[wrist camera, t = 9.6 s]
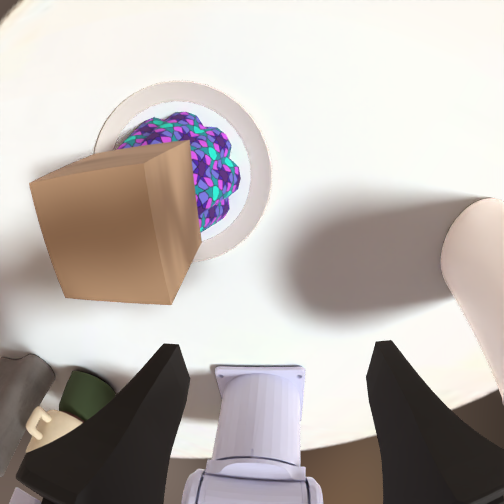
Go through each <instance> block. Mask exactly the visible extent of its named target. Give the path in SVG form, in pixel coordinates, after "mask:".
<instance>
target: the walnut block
mask: <svg viewBox="0 0 504 504" xmlns="http://www.w3.org/2000/svg"><path fill="white" fill-rule="evenodd" d="M29 185H30V189H31V194H32V198H33V202H34V206H35V210H36V213H37V217H38V221H39V224H40V228H41V231H42V234H43V237H44V241H45V244H46V247H47V250H48V253H49V256H50V259H51V262H52V264H53V267H54V270H55V273H56V275H57V278H58V281H59V283H60V286H61V288H62V291H63V293H64V296H65V298H73V299H84V300H96V301H110V302H125V303H141V304H160V305H172V303H173V300H174V298H175V296H176V294H177V292H178V290H179V288H180V286H181V284H182V281H183V279H184V277H185V275H186V273H187V271H188V269H189V267H190V265H191V263H192V261H193V259H194V257H195V255H196V253H197V251H198V249H199V247H200V245H201V243H202V241H201V233H200V226H199V218H198V210H197V202H196V194H195V185H194V176H193V167H192V158H191V148H190V140H183V141H174V142H166V143H158V144H151V145H143V146H137V147H130V148H124V149H118V150H112V151H107V152H101V153H96V154H93V155H91V156H88V157H86V158H83V159H81V160H79V161H76V162H74V163H71V164H69V165H67V166H65V167H62V168H60V169H58V170H56V171H54V172H51V173H49V174H47V175H45V176H43V177H41V178H39V179H37V180H35V181H33V182H31V183H29Z"/></svg>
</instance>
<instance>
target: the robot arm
mask: <svg viewBox="0 0 504 504" xmlns="http://www.w3.org/2000/svg"><path fill="white" fill-rule="evenodd" d="M215 375H216V379H217V383H218V387H219V391H220V394H221V398H222V405H221V410H220V416H219V421H218V427H217V432H216V438H215V443H214V449H213V454H212V460H208V461H207V466H206V470H205V469H197V470H196V471H195V472H194V473H192V474H191V475H190V476H189V477H188V479H187V482H186V485H185V488H184V492H183V497H182V502H181V504H323V496H322V491H321V487H320V486H319V484H318V483H317V482H316V481H315V480H314V479H313V478H312V477H305V467H300V421H301V417H302V407H303V396H304V384H305V368H303V367H226V366H218V367H216V368H215ZM366 381H367V389H368V397H369V403H370V407H371V412H372V416H373V420H374V424H375V429H376V433H377V438H378V442H379V447H380V452H381V459H382V472H383V504H503V503H504V498H503V495H504V449H502V448H500V447H498V446H497V445H495V444H494V443H492V442H491V441H489V440H487V439H486V438H484V437H483V436H481V435H480V434H479V433H477V432H476V431H475V430H474V429H472V428H471V427H470V426H468V425H467V424H466V423H464V422H463V421H462V420H461V419H460V418H459V417H458V416H456V415H455V414H454V413H453V412H452V411H451V410H450V409H449V408H448V407H447V406H446V405H445V404H444V403H443V402H442V401H441V400H440V399H439V398H438V397H437V395H436V394H435V393H434V392H433V391H432V390H431V389H430V388H429V387H428V385H427V384H426V383H425V382H424V381H423V379H422V378H421V377H420V376H419V375H418V373H417V372H416V371H415V370H414V369H413V367H412V366H411V365H410V363H409V362H408V361H407V360H406V358H405V357H404V356H403V354H402V353H401V352H400V351H399V349H398V348H397V347H396V345H395V344H394V343H393V342H392V341H391V340H389V341H378V342H376V343H375V347H374V351H373V354H372V358H371V362H370V365H369V369H368V372H367V376H366ZM189 383H190V377H189V374H188V371H187V368H186V365H185V362H184V359H183V356H182V353H181V350H180V347H179V344H163V345H162V346H161V347H160V348H159V349H158V350H157V352H156V353H155V354H154V355H153V356H152V357H151V359H150V360H149V361H148V362H147V363H146V364H145V365H144V367H143V368H142V369H141V370H140V371H139V372H138V373H137V374H136V375H135V376H134V378H133V379H132V380H131V381H130V382H129V383H128V384H127V385H126V386H125V387H124V388H123V389H122V390H121V391H120V392H119V393H118V394H117V395H116V396H115V397H114V398H113V399H112V400H111V401H110V402H109V403H108V404H106V405H105V406H104V407H103V408H102V409H101V410H99V411H98V412H97V413H96V414H95V415H93V416H92V417H91V418H89V419H88V420H87V421H85V422H84V423H82V424H81V425H79V426H78V427H76V428H75V429H73V430H72V431H70V432H69V433H67V434H65V435H64V436H62V437H60V438H58V439H56V440H54V441H52V442H50V443H48V444H46V445H44V446H42V447H39V448H37V449H35V450H32V451H30V452H27V453H26V455H25V457H24V459H23V461H22V463H21V465H20V468H19V470H18V472H17V474H16V479H17V480H18V481H20V482H21V483H22V484H24V485H25V486H27V487H28V488H30V489H31V490H33V491H34V492H36V493H37V494H39V495H40V496H42V497H43V500H42V502H41V501H39V500H37V499H36V498H34V497H32V496H30V495H29V494H27V493H26V492H24V491H23V490H21V489H19V488H18V487H16V488H15V490H14V493H13V495H12V498H11V500H10V503H9V504H163V502H164V493H165V484H166V478H167V471H168V465H169V459H170V455H171V451H172V447H173V444H174V440H175V437H176V434H177V431H178V427H179V424H180V421H181V418H182V414H183V411H184V408H185V404H186V401H187V395H188V389H189Z"/></svg>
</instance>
